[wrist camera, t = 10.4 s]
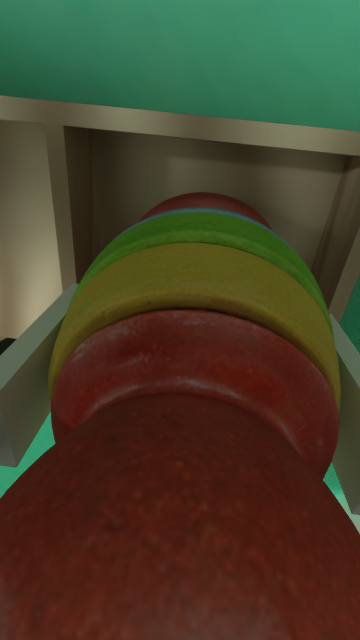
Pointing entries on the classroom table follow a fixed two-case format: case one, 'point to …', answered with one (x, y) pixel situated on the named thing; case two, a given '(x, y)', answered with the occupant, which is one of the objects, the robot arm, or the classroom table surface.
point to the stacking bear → (186, 447)
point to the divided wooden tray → (161, 190)
